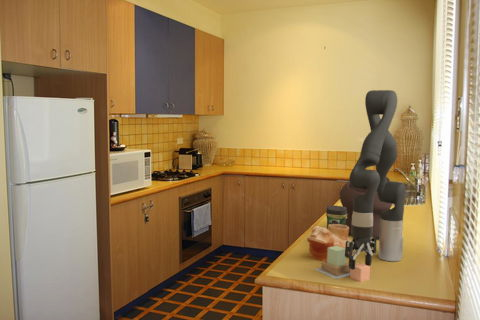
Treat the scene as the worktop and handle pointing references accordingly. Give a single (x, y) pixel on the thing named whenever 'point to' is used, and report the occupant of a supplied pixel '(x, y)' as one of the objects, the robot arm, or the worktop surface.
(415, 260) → the worktop surface
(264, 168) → the worktop surface
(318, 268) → the board
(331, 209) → the coffee jar
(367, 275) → the terracotta block
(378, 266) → the worktop surface
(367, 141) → the robot arm
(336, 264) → the sage block
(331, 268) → the walnut base
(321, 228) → the ceramic vessel
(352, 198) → the vase
